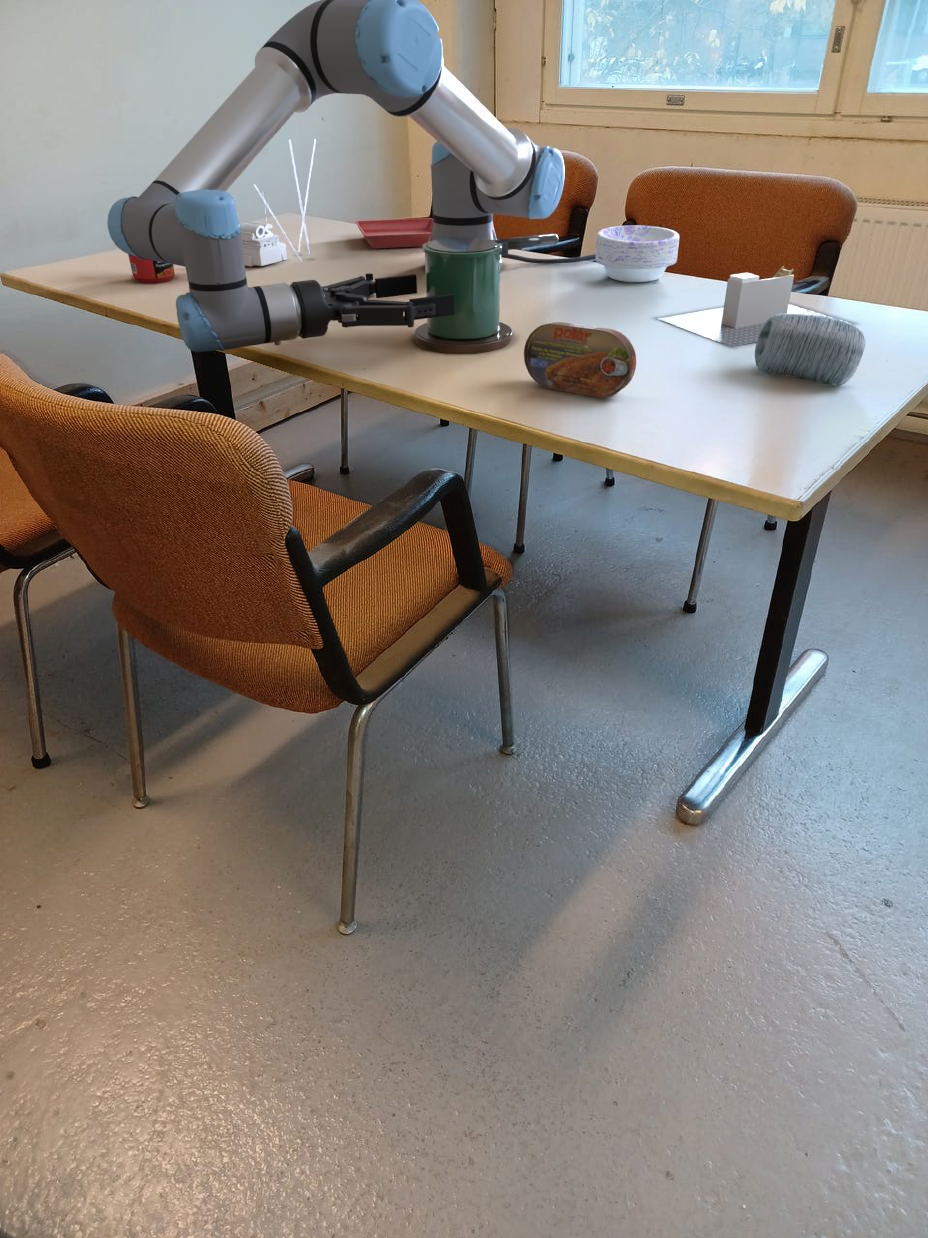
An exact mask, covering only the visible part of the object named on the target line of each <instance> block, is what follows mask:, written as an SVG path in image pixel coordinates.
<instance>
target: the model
mask: <svg viewBox="0 0 928 1238" xmlns="http://www.w3.org/2000/svg"><path fill="white" fill-rule="evenodd" d="M794 271H795V270H794V268H791V269H790V270H789V269H786V268H785V266H784V265H782V266H781V267H780V268H779V269H778V271H777V272H776V273H775V274H774V275H773V276H772V277H769V278H764V279H760V275H756V274H753V273H750V272H740V273H734V274H730V275H729V278H727V282H726V290H725V296H724V303H723V307H722V308H723V309H722V316H721V322H720V323H721V324H724V325H727V326H729V327H732V328H735V329H736V328H741V327H747V326H752V325H758V324H764V323H766V321H767V320H768V319H769V318H770V317H771V316H773V315H775V314H779V313H784V314H788V311H789V305H791V304H790V299H791V293H792V289H793V283H794V278H795V275H794V274H792V272H794Z"/></svg>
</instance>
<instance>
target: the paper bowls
mask: <svg viewBox="0 0 928 1238" xmlns="http://www.w3.org/2000/svg"><path fill="white" fill-rule="evenodd" d="M595 241H596V242H595V254H596V255H595V259H594V260H595V262H596V263H597V264H599V265H601V266H603V268H604V270H605V273H606V275H607V276H608V277H609V278H611V280H615V281H618V282H625V283H649V282H653V281H656V280H658V279H659V278H661V277H662V276H663V275H664V273H665V271H666V270H667V268H668V267H670V266H673V265H675V264H676V263H677V261H678V255H679V254H678V253H679V244H680V234H679V233H678V232H677V231H675V230H674V229H669V228H665V227H660V226H652V225H639V224H638V225H636V224H635V225H618V226H617V225H616V226H610V227H606V228H603V229H600V230H599V231H597V232H596V239H595Z"/></svg>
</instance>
